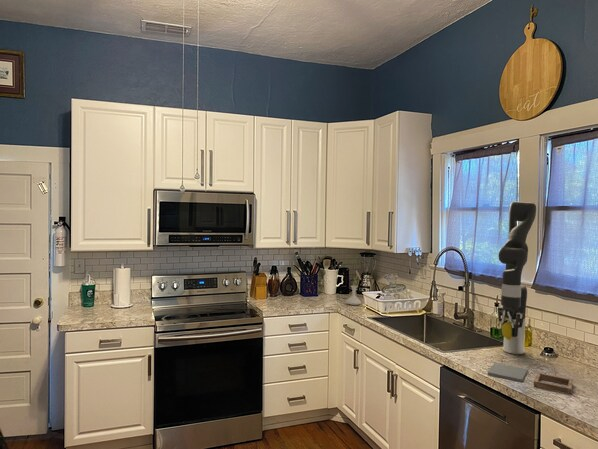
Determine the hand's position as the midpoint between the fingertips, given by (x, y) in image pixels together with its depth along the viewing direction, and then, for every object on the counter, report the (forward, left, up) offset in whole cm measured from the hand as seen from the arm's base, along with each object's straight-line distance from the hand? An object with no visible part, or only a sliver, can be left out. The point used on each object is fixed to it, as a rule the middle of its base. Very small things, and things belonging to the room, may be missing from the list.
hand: (509, 334), depth 185 cm
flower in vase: (-88, -118, -16) cm, 148 cm away
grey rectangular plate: (0, 0, -16) cm, 16 cm away
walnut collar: (+4, +17, -16) cm, 24 cm away
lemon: (0, 0, -2) cm, 3 cm away
